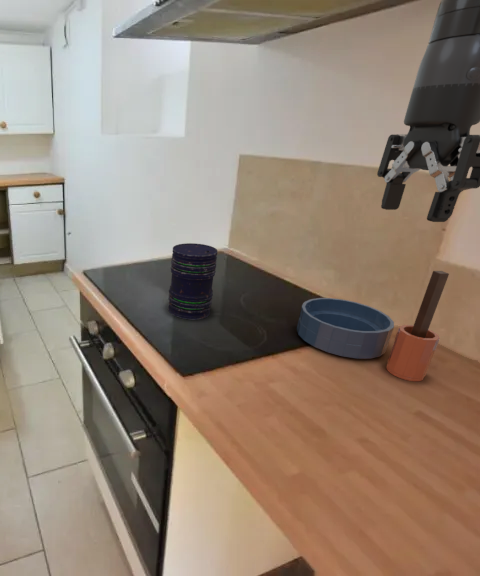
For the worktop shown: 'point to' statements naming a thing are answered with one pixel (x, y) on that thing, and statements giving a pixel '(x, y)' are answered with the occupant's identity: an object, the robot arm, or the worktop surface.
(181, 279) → the storage jar
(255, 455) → the worktop surface
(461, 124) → the robot arm
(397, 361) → the utensil holder
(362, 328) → the bowl
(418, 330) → the stirring stick
